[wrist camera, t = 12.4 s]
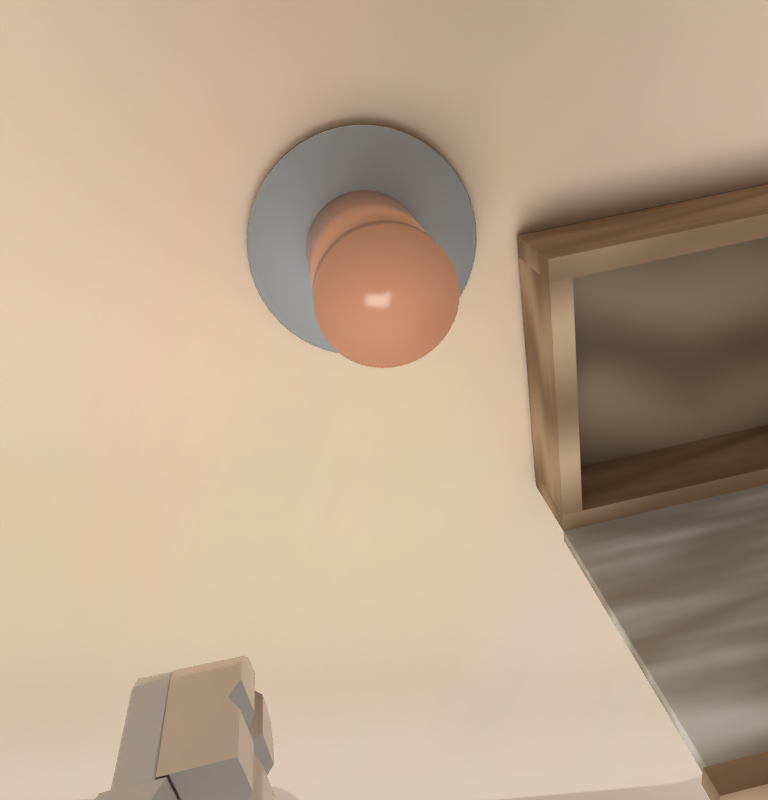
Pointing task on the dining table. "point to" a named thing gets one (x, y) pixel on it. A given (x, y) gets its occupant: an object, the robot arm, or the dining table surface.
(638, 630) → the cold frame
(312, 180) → the grey flat disc
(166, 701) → the robot arm
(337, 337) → the orange cylinder
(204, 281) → the dining table surface
